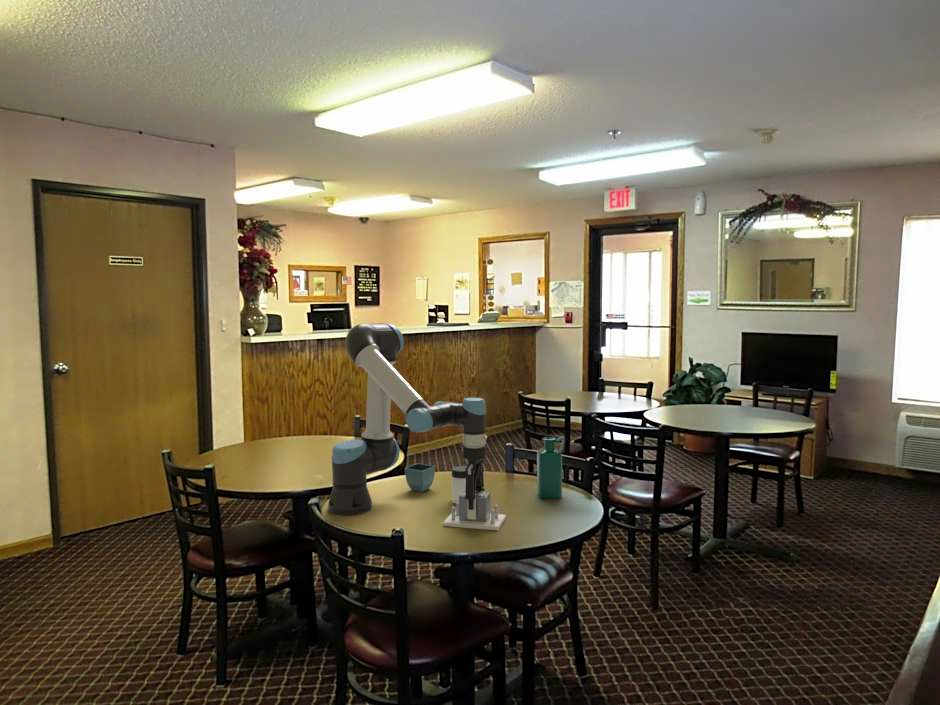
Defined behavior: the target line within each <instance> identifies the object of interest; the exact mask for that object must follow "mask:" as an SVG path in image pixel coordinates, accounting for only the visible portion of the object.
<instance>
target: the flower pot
mask: <svg viewBox="0 0 940 705" xmlns="http://www.w3.org/2000/svg"><path fill="white" fill-rule="evenodd" d="M435 472H436V466H435V465H431V464H425V463H418V462H417V463H414V464H412V465H409V466H407V467H404V473H405V474H404V475H405V479H406V483H407V485H408V487H409V489H410V490H411V491H415V492H421V493H422V492H424V491H427V490H429V489H430V488H431V487H432V484H433V482H434V479H435Z"/></svg>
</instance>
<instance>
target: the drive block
mask: <svg viewBox="0 0 940 705" xmlns="http://www.w3.org/2000/svg"><path fill="white" fill-rule="evenodd" d="M475 499H476V520H475V519H467V499H465V491H463V492H462V493H461V494H460V495H459V520H462V521H475V522H487V520H488V519H489V518H490V514H491V492H485V491H481V492H475Z"/></svg>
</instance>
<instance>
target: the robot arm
mask: <svg viewBox="0 0 940 705" xmlns="http://www.w3.org/2000/svg"><path fill="white" fill-rule="evenodd" d="M404 340H405V339H404V336H403V333H402V331H401V330H400V329H399V327H398V326H397V325H395V324H393V323H388V322H375V323H360V324H356V325H355V326H353V327H352V328H350V329H349V331H348V333H347V334H346V336H345V340H344V341H345V342H344V343H345V344H344V345H345V350H346V352H347V354H348V357H350V359H351V361H352V362H354V364H355V365H356V367H358V368H359V367H360V368H363V369H364V370H365V372H366V373H367V382H366V383H367V384H366V385H367V386H366V390H367V392H366V417H365V418H366V419H365V425H366V426H365V430H364V431H363V432H362V433H361V439H356V438H355V439H354V438H352V439H349V440H343V441H339V442H338V443H336V444H335V445H334V446H333V448H332V449H331V450H332V451H331V452H332V453H331V455H332V456H331V468H332V488H331V489H332V490H331V492H330V496H329V499H328V502H327V508H328V512H329V513H330V514H332V515H336V516H354V515H360V514H365V513H367V512H369V511H370V510H372V508H373V500H372V497H371V494H370V492H369V488H368V487H367V485H368V484H367V476H368V475H370V474H374V473H377V472H382V471H386V470H387V469H389V468H392V467H394V465H395V464H396V463H397V462H398V460H399V457H400V446H399V444H398V441H397V440H396V439H395V438H394V433H393V432H392V431H391V429H390V428H391V427H390V426H391V404H392V403H391V402H392V401H393V403H394V404H395V405H396V406H397V407H398V408H399V410H401V411H402V412H403V414H404V415H405V423H406V425H407V429H408V430H410V431H411V432H412V433H426V432H428V431H432V430H435V429H440V428H445V427H447V426H455V427H456V426H457V427H462V445H463V447H462V457H463V458H464V459H466V460H468V463H467V465H466V466H467V468H466V469H465V470H466V491H465V499H467V519H475V520H476V499H475V492H485V490H486V489H485V485H484V484H485V482H484V479H485V478H484V459H485V458H486V457H487V447H486V445H487V440H488V436H487V428H486V423H487V422H486V421H487V420H486V419H487V418H486V417H487V409H486V401H485V399H484V398H481V397H465V398H463V399H462V403H460V402H451V401H447V400H443V401H440V400H439V401H436V402H435V403H434V404H432V405H430V404H428V403H427V402H426V400H424V399H423V397H421V394H419V393H418V392H417V391H416V390H415V389H414V387H412V385H410V383H409V382H408V381H407V380H406V379H405V377H404V376H402V374H400V372H398V370H397V369H396V368H395V367H394V366H393V365H394V364H396V363H397V355H399V353H400V352H401V351H402V350H403V348H404V345H405V344H404V343H405V342H404Z"/></svg>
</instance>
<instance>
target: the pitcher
mask: <svg viewBox="0 0 940 705" xmlns="http://www.w3.org/2000/svg"><path fill="white" fill-rule="evenodd" d="M541 440H542V441H544V448H540V449H538V450H537V452H536V494H537V495H538V497H539V499H543V500H546V499H547V500H550V499H553V500H554V499H555V500H557V499H560V498H562V497H563V452H564V450H565V448H566V441H567V440H566V438H565V437H564V436H563V435H559V436H558V437H557V438H556V437H554V436H545V437H543V438H541ZM559 442H561V443H560V448H559V449H557V448H556V447H555V443H559Z"/></svg>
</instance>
